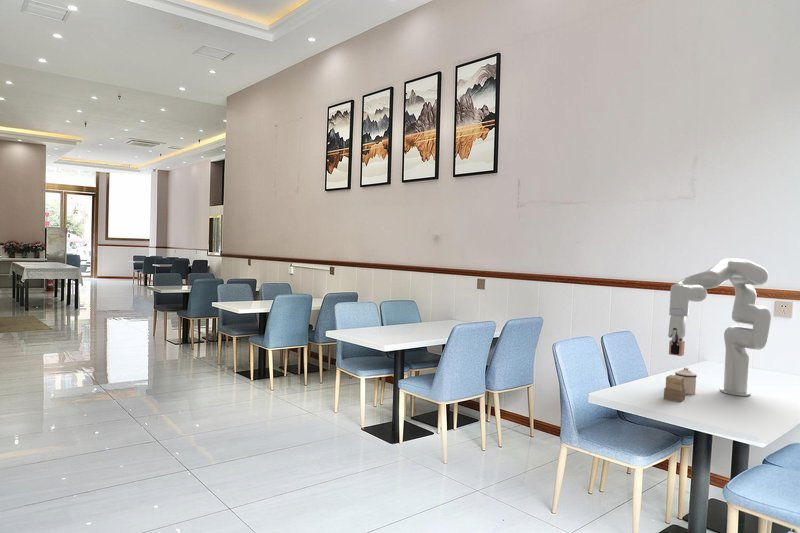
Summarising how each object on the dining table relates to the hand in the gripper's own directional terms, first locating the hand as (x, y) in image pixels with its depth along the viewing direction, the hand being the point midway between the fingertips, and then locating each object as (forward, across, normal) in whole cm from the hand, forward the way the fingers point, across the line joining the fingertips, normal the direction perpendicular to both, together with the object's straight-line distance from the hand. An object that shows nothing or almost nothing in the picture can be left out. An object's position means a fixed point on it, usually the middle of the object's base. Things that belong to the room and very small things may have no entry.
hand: (676, 353), depth 244 cm
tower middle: (+16, 0, 0) cm, 16 cm away
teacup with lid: (+21, -18, -1) cm, 28 cm away
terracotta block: (+1, 0, 0) cm, 1 cm away
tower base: (+21, 0, 0) cm, 21 cm away
